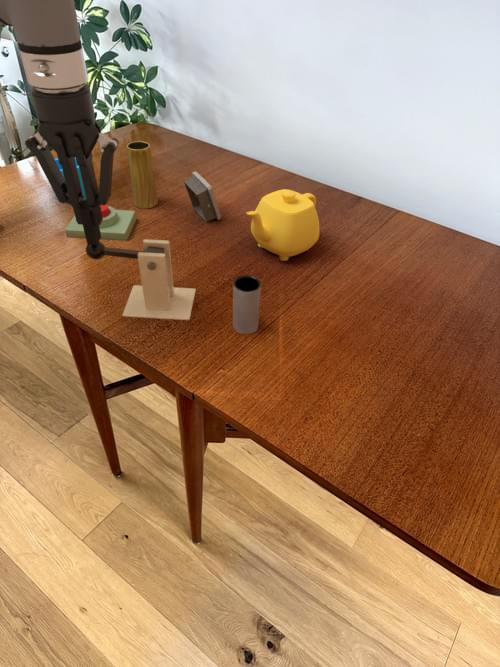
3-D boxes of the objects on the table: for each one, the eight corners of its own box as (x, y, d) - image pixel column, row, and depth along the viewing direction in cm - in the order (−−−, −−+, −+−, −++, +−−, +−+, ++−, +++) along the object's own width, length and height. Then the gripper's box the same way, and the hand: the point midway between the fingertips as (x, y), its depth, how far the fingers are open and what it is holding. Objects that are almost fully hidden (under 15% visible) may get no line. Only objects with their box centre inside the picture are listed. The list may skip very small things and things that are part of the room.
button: (88, 218, 101) (86, 211, 100) (93, 209, 104) (92, 202, 103) (106, 219, 101) (105, 212, 100) (111, 210, 104) (110, 203, 103)
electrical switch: (222, 220, 110) (218, 184, 103) (202, 227, 108) (197, 190, 102) (206, 203, 116) (201, 168, 109) (187, 209, 114) (181, 174, 108)
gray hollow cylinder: (232, 337, 81) (232, 291, 74) (233, 320, 84) (233, 274, 77) (258, 338, 81) (261, 292, 74) (257, 321, 84) (260, 275, 77)
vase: (131, 208, 112) (122, 150, 102) (135, 197, 117) (126, 139, 107) (156, 209, 113) (150, 150, 103) (159, 197, 117) (153, 140, 107)
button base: (67, 238, 102) (63, 222, 99) (81, 216, 109) (77, 200, 106) (126, 242, 102) (123, 226, 99) (136, 219, 109) (134, 203, 106)
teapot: (332, 246, 103) (342, 193, 95) (266, 279, 93) (270, 223, 85) (289, 221, 111) (294, 170, 102) (223, 249, 101) (223, 195, 92)
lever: (84, 262, 78) (81, 246, 76) (90, 251, 80) (87, 235, 78) (161, 270, 79) (161, 255, 76) (164, 260, 81) (164, 244, 79)
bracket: (122, 320, 83) (110, 260, 74) (134, 289, 89) (124, 231, 81) (189, 324, 83) (185, 265, 74) (196, 293, 89) (193, 235, 81)
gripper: (-3, 91, 58) (47, 251, 74) (101, 96, 58) (128, 255, 74) (21, 75, 64) (63, 227, 80) (116, 79, 63) (138, 231, 80)
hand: (94, 240), depth 77 cm, fingers closed
